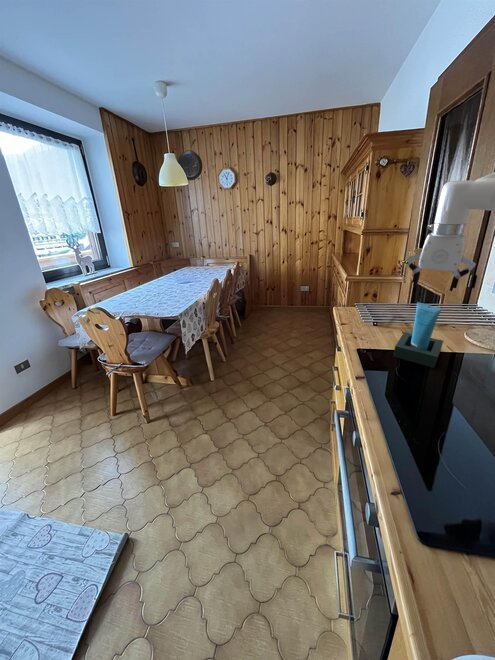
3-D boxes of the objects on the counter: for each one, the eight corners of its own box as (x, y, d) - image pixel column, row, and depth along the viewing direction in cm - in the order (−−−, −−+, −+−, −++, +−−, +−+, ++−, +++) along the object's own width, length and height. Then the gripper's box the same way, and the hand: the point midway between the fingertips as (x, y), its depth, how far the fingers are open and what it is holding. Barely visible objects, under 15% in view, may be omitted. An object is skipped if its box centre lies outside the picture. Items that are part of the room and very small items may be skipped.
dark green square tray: (439, 352, 100) (443, 340, 98) (433, 369, 92) (437, 356, 89) (401, 343, 107) (404, 331, 105) (392, 358, 99) (395, 346, 96)
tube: (430, 357, 98) (444, 306, 89) (424, 362, 95) (438, 310, 86) (408, 349, 103) (419, 300, 94) (402, 354, 101) (413, 304, 92)
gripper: (411, 230, 82) (399, 286, 90) (485, 233, 72) (465, 296, 80) (416, 226, 87) (405, 279, 95) (487, 229, 78) (468, 288, 85)
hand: (432, 287), depth 88 cm, fingers open, 9 cm apart
